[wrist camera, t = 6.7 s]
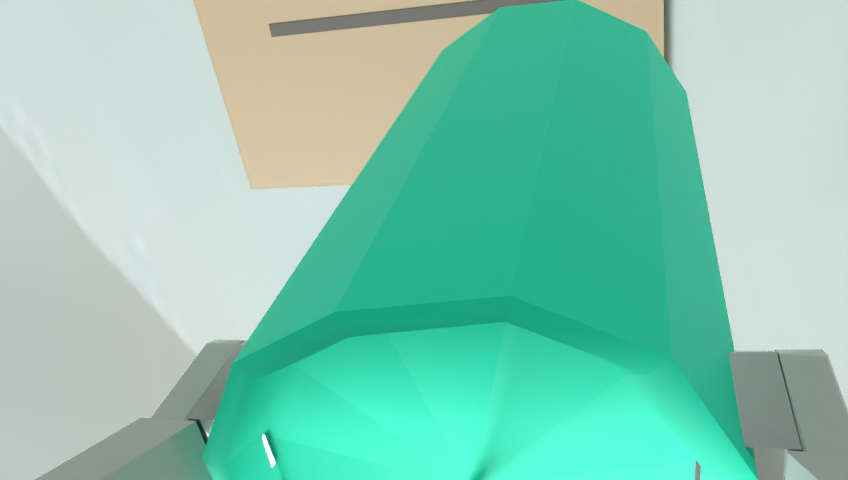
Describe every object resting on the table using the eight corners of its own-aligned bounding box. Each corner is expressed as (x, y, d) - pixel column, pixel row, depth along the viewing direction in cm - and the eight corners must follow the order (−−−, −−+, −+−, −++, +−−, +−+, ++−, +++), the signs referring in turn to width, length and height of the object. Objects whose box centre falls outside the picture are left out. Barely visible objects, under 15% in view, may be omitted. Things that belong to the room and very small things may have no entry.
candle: (375, 55, 17) (4, 468, 7) (645, -50, 14) (689, 348, 4) (475, 272, 19) (310, 812, 9) (720, 213, 17) (855, 851, 7)
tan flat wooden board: (662, -252, 23) (663, -252, 22) (664, 165, 30) (664, 170, 29) (151, -153, 28) (145, -152, 27) (254, 185, 35) (250, 189, 34)
